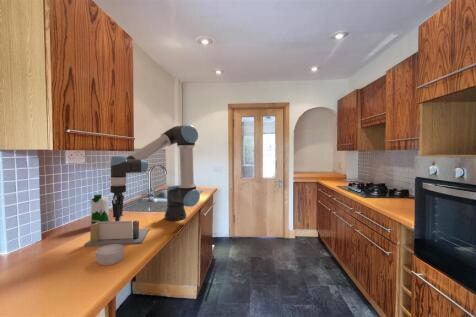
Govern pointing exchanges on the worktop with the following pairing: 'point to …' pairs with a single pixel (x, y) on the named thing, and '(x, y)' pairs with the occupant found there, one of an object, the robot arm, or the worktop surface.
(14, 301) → the worktop surface
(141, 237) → the board
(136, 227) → the hinge post
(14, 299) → the worktop surface
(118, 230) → the rod
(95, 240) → the post
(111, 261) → the ramekin
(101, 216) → the milk carton
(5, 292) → the worktop surface
